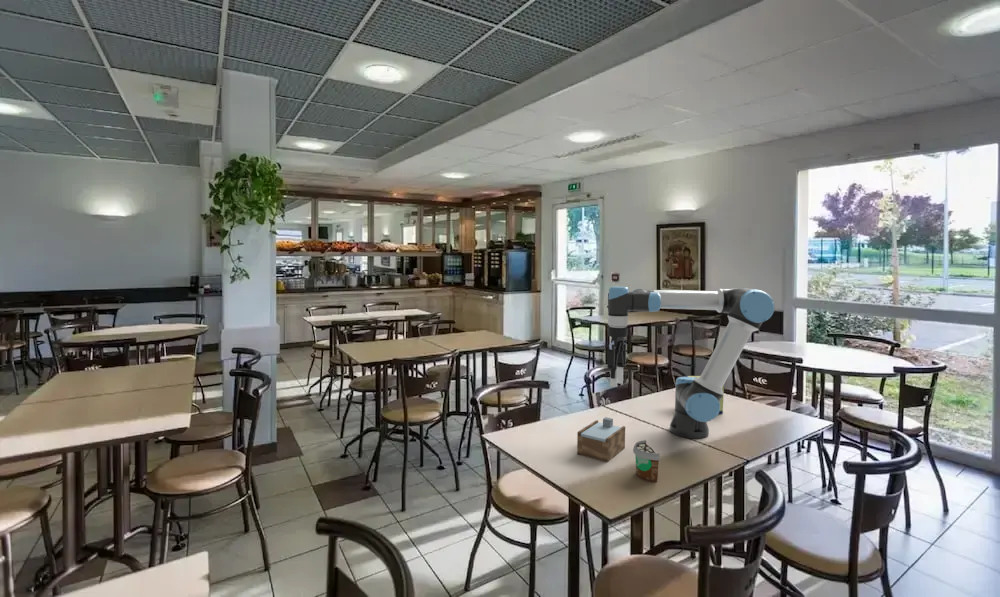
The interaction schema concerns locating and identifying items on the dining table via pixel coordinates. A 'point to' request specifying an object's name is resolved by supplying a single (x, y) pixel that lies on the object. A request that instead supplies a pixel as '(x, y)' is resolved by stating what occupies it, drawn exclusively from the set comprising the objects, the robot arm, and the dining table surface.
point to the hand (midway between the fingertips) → (616, 384)
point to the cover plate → (601, 430)
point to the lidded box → (601, 445)
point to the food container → (646, 462)
